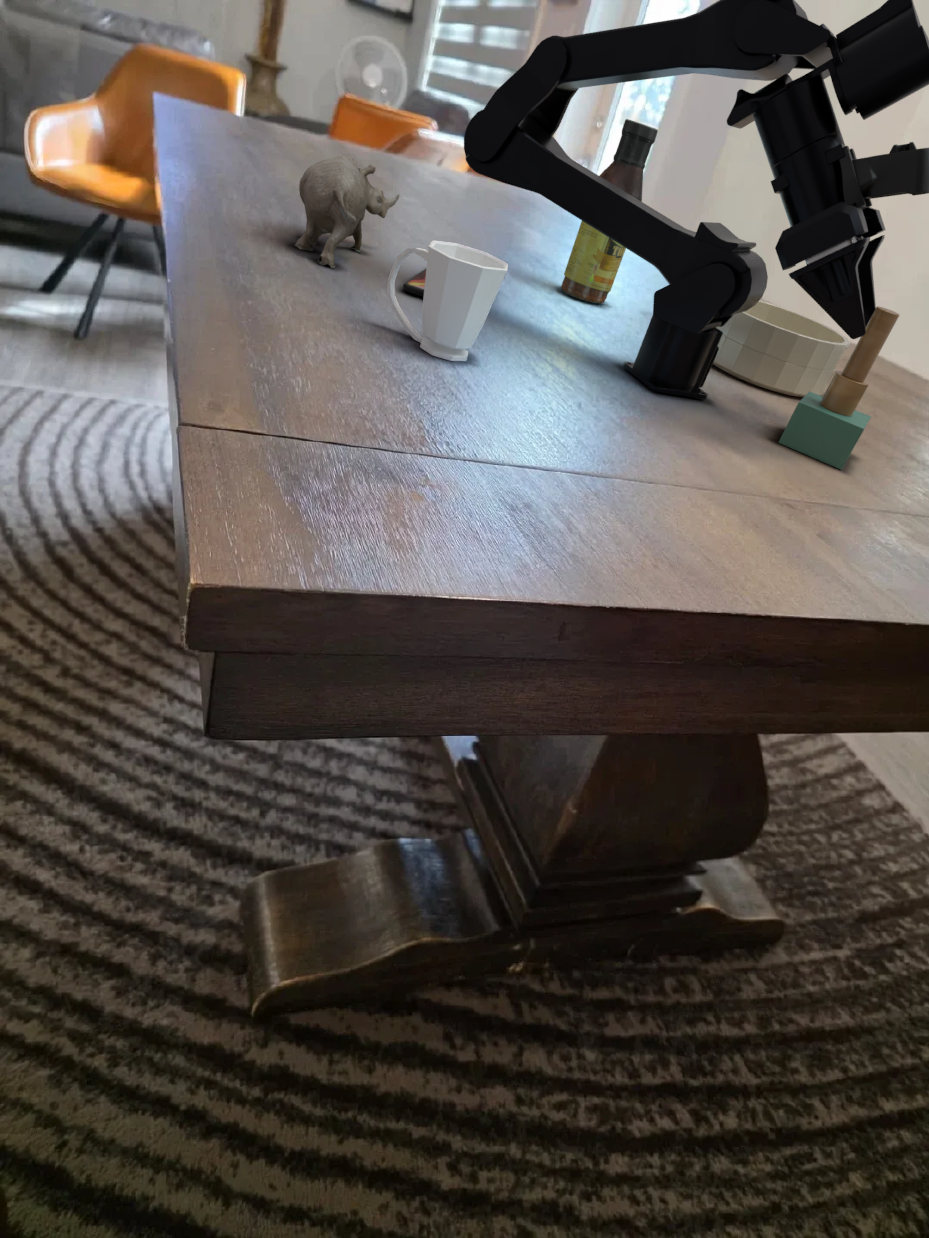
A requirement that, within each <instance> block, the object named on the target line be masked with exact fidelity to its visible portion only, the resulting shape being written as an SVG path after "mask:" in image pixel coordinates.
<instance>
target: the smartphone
mask: <svg viewBox="0 0 929 1238" xmlns="http://www.w3.org/2000/svg"><path fill="white" fill-rule="evenodd" d="M425 279H426V268H424V269H423V270H421V271H420V272H419V273H417V274H415V275H414V276H412V277H411V278H409V279H408V280H406V281H405V282H404V283H403V285H402V288H403V290H404V291H405V292H407V293H410V294H413V295H417V296H420V297H422V298H423V297H424V288H425Z"/></svg>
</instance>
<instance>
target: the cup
mask: <svg viewBox="0 0 929 1238" xmlns="http://www.w3.org/2000/svg"><path fill="white" fill-rule="evenodd" d="M413 253H414V254H416V256H418V257H420V258H422V259H423V260H424V261H425V262H426V268H425V269H426V279H425V288H424V297H422V298H423V299H422V300H423V301H422V311H421V313H422V314H421V315H422V316H421V319H422V320H421V321H422V323H421V325H422V326H421V327H422V328H421V333H422V335H420V333H419V332H418V331H417V330H416V329H415V328H414V327H413V326H412V324H411V322H410V321H409V319H408V318H407V316H406V314H405V312H404V311H403V309H402V308H401V306H400V304H399V301H398V299H397V296H396V286H395V284H396V283H395V282H396V279H397V276H398V273H399V270H400V268H401V267H402V264H403V262H404V260H406V259H407V258H408V257H409V256H411V255H412V254H413ZM508 269H509V263H507V262H506V261H504V260H502V259H500V258H498V257H496V256H494V255H492V254H491V253H488V252H486V251H483V250H480V249H476V248H473V247H470V246H467V245H464V244H461V243H458V242H449V241H443V240H442V241H441V240H435V239H433V240H431V241H430V243H429V245H428V248H427V249H425V248H420V247H411V248H406V249H405V250H404V251H403V252H402V253H400V254H399V255H398V256H397V257H396V259H395V261H394V263H393V264H392V266H391V269H390V271H389V275H388V278H387V281H386V285H387V290H386V291H387V298H388V301H389V303H390V306H391V308H392V310H393V313H394V314H395V316H396V317H397V319H398V320H399V322H400V324H401V325H402V326H403V329H404V330H405V331H406V332H407V334H409V336H411V338H412V339H413V340H414V341H416V342H419V343H420V345H419V348H420V349H422V350H423V351H425V352H426V353H428V354H429V355H431V356H433V357H437V358H439V359H444V360H446V361H450V362H467V360H468V356H469V351H468V350H470V349H471V348H472V347H473V345H474V343H475V341H476V340H477V338H478V336H479V334H480V333H481V331H482V329H483V327H484V325H485V323H486V321H487V318H488V316H489V313H490V311H491V308H492V306H493V304H494V301H495V300H496V298H497V295H498V293H499V291H500V288H501V287H502V284H503V282H504V279H505V277H506V275H507V272H508Z"/></svg>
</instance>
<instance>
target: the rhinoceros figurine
mask: <svg viewBox="0 0 929 1238" xmlns="http://www.w3.org/2000/svg"><path fill="white" fill-rule="evenodd" d="M376 168H377V167H376V165H374V164H368V166H367V167H365V168H360V167H358V165H357V159H356V158H351V157H350V156H348V155H347V154H342V155H336V156H333V157H332V156H331V157H330V158H329V157H328V158H326V159H323V160H320V161H318V162H315V163H313V164H312V165H310V166H309V167H308V168H307V169H306V170H305V171H304V173H303V174H302V176H301V177H300V180H299V185H298V190H299V196H300V200H301V202H302V204H303V205H304V210H305V216H306V224H305V226H306V227H305V231H304V233H303V234H302V235H301V236H300V237H299V238H297V241H296V243H295V244H294V246H295V247H296V248H298V249H299V250H303V251H304V250H305V251H310V252H315V250H314V246H315V245H316V244H317V243H318V241H319V239H320V237H321V236H322V235H326V234H330V235H328V237H327V240H326V242H325V244H324V247H323V250H322V252H321V254H320V256H319V257H318V260H317V263H318V264H319V265H321V266H326V265H328V266H329V267H330V268H333V269H334V268H335V269H336V265H335V251H336V248H337V247H338V246H339V244H340V243H342V242H343V241H344V240H346V239H347V238H349V237H353V240H354V243H353V245H352V246H349V249H354V251H356V252H357V253H361V250H360V249H361V247H362V243H363V242H362V239H363V229H362V221H364V219H365V217H366V211H367V212H368V213H369V214H371V215H375V216H379V217H380V218H382V219H385V218H386V216H387V213H388V211H389V209H391V208H393V207H394V206H395V205H396V203H397V202H398V200H399V198H400V196H401V195H400V193H398V194H396V195H395V196H393V197H391V198H387V197H385V195H384V190H383V189H382V188H380V187H375V186H373V185H372V184H371V183H370V180H369V177H368V176H369V175H373V174H375V172H376V170H377V169H376Z"/></svg>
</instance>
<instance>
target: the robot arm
mask: <svg viewBox="0 0 929 1238" xmlns="http://www.w3.org/2000/svg"><path fill="white" fill-rule="evenodd" d="M793 69H795V70H811V71H808V72H807V73H805V74H803V75H801V76H800V77H797V78H796V79H794V80H793V79H792V77H791V76H790V75H789V74H790V73H791V72H792V70H793ZM692 74H696V75H697V74H698V75H709V76H716V77H722V78H730V79H739V80H752V81H761V82H763V81H764V82H770V83H768V84H767V85H765V86H763V87H761V88H760V89H758V90H757V91H754V92H749V91H747V90H745V89H743V88H740V89H738V90H737V92H736V98H735V102H734V104H733V107H732V109H731V110H730V112H729V115H728V116H727V118H726V124H727V126H729V127H731V128H737V129H739V130H740V129H741V130H742V129H743V128H744V127H747V126H748V125H750V124H752V123H753V122H754V124H755V126H756V127H755V128H756V129H757V132H758V135H759V138H760V141H761V144H762V148H763V149H764V153H765V155H766V159H767V161H768V165H769V167H770V171H771V174H772V176H773V179H772V180H771V181H770V185H771V188H772V190H773V193H774V194H777V195H779V196H780V200H781V202H782V206H783V209H784V212H785V214H786V217H787V220H788V223H789V226H790V227H787V228H786V229H783V230H782V232H781V233H780V236H779V238H778V240H777V243H776V245H775V247H774V249H775V253H776V255H777V258H778V261H779V263H780V266H781V269H782V271H788V270H790V269H792V268H794V267H796V266H797V265H798V264H800V263H802V262H805V264H806V265H804V266H802V267H800V268H798V269H796V270H794V271H792V272H790V273H788V276H789V278H790V280H793V281H794V282H795V283H796V284H797V285H798V286H800V288H801V289H802V290H803V291H804V292H805V293H806V294H807V295H808V296H809V297H811V299H813V301H815V303H816V304H817V305H818V306H819V307H820V308H821V309H822V310H823V311H824V312H825V313H826V314H827V315H828V316H829V317H830V318H831V319H832V320H833V321H834V322H835V323H836V324H837V325H838V327H839V328H840V329H842V331H843V332H844V333H845V334H846V335H847V336H848V337H849V338H850V339H851V340H857V339H860V338H861V336H864V335H865V333H866V326H867V324H868V322H869V320H870V318H871V316H872V315H873V313H874V311H875V309H876V307H877V305H876V294H875V281H874V280H875V279H874V270H873V269H874V267H873V262H874V261H873V260H874V258H875V256H876V254H877V252H878V251H879V249H880V247H881V245H882V244H883V242H884V240H885V238H886V237H885V234H882V235H880V236H878V237H876V238H873V239H871V238H872V237H874V236H876V235H878V234H881V233H883V232H884V231H886V227H885V224H884V221H883V218H882V214H881V211H880V209H877V208H874V207H872V206H873V202H872V200H871V199H879V198H887V197H893V196H901V195H902V196H903V195H911V196H921V195H927V194H929V147H922V148H917V146H916V144H915V143H914V141H909V143H905V144H893V145H892V147H891V149H890V151H889V153H884V154H877V155H872V156H871V155H870V156H867V157H861V158H860V157H859V158H857V154H856V152H855V150H854V148H850V147H849V145H846V144H845V141H844V137H843V135H842V131H841V128H840V126H839V123H838V119H837V116H836V113H835V111H834V106H833V104H832V101H831V98H830V95H829V92H828V89H827V86H826V83H825V80H826V79H827V78H829V77H830V80H831V84H832V86H833V90H834V94H835V95H836V99H837V101H838V103H839V106H840V109H841V111H842V112H843V114H844V116H848V115H849V114H851V113H853V112H854V111H855V113H856V114H857V115H858V114H859V115H860V117H861V118H862V120H863V121H865V120H867V119H869V118H871V117H872V116H875V115H876V114H878V113H880V112H882V111H883V110H886V109H887V108H890V107H891V106H893V105H895V104H897V103H898V102H900V101H902V100H903V99H904V100H905V98H908V97H909V96H911V95H913V94H915V93H916V92H918V91H920V90H922V89H923V88H926V87H927V86H929V37H928V34H927V33H926V30H925V28H924V26H923V25H922V24H921V22H920V17H919V16H918V12H917V10H916V6H915V4H914V0H886V1H885V2H884V3H883V4H882V5H881V6H880V7H878V8H877V9H875V10H874V11H873V12H871V13H869V14H867V15H866V16H865V17H863V18H861V19H859V20H858V21H856V22H855V23H853V24H851V25H850V26H848V27H846V28H845V29H843V30H842V31H840V32H838V33H836V35H835V34H834V33H833V32H832V30H830V29H829V28H828V27H827V26H826V25H825V23H821V24H818V23H815V22H813V21H811V20H809V17H808V15H807V12H806V11H805V10H804V9H803V8H802V6H801V5H800V4H799V3H798V2H797V1H796V0H717V1H716V2H714V3H712V4H710V5H709V6H707V7H705V8H704V9H702V10H701V11H698V12H695V13H693V14H690V15H688V16H686V17H681V18H680V17H679V18H673V19H668V20H662V21H655V22H649V23H643V24H637V25H631V26H624V27H618V28H611V29H606V30H599V31H593V32H587V33H582V34H581V33H580V34H574V35H569V36H560V35H551V36H548V37H546V38H544V39H542V40H541V41H540V42H539V44H537V45H536V46H535V48H534V50H533V51H532V52H531V54H530V55H529V56H528V58H527V60H526V61H525V62H524V64H523V65H522V66H521V67H520V68H518V69H517V70H516V71H515V73H513V74H512V75H511V76H510V77H509V78H508V79H507V80H506V81H505V82H504V83H503V84H501V85H500V86H499V87H498V88H497V89H496V90H495V91H494V93H493V94H492V96H491V97H490V99H489V100H488V102H487V103H486V105H485V106H484V107H483V109H481V110H479V111H477V112H476V113H475V114H474V115H473V116H472V117H471V118H470V120H469V122H468V123H467V126H466V127H465V132H464V136H463V150H464V155H465V162H466V163H467V165H468V167H469V168H470V169H471V170H472V171H474V173H476V174H478V175H481V176H484V177H485V178H489V179H492V180H494V181H497V182H500V183H503V184H507V185H509V186H512V187H515V188H516V187H517V188H519V189H523V190H526V191H530V192H532V193H536V194H538V195H541V196H542V197H543V198H545V199H547V200H548V201H549V202H551V203H553V204H555V205H556V206H558V207H559V208H561V209H563V210H565V211H566V212H567V213H569V214H570V215H572V216H574V217H576V218H577V219H579V220H580V221H583V222H585V223H587V224H588V225H590V226H591V227H593V228H595V229H596V230H598V231H599V232H601V233H603V234H604V235H606V236H607V237H609V238H611V239H612V240H614V241H615V242H617V243H619V244H620V245H622V246H623V247H625V248H626V250H628V251H630V252H631V253H633V254H635V255H636V256H638V257H639V258H640V259H642V260H644V261H646V262H647V263H648V264H650V265H652V266H653V267H655V268H656V270H657V271H659V273H660V275H662V277H663V278H664V279H665V281H666V282H667V284H668V285H665V286H663V287H662V288H660V289H658V290H655V292H654V294H653V303H652V316H651V318H650V321H649V324H648V326H647V329H646V331H645V334H644V336H643V339H642V342H641V344H640V347H639V350H638V352H637V355H636V357H635V360H634V362H630V361H624V362H623V365H622V367H623V368H625V369H626V370H627V371H628V372H629V373H630V374H631V375H633V376H634V377H636V378H637V379H638V380H639V381H640V382H641V383H643V384H644V385H645V386H646V387H648V388H649V389H651V390H652V391H654V392H657V393H662V394H668V395H675V396H682V397H688V398H695V399H699V400H700V399H701V400H707V397H708V393H706V392H705V391H704V390H703V389H701V388H703V386H705V382H706V380H707V378H708V375H709V373H710V371H711V369H712V366H713V365H714V364H713V362H714V360H715V358H716V355H717V353H718V351H719V347H718V344H719V341H720V339H721V337H722V334H723V332H722V331H720V330H719V329H717V328H716V327H722V326H724V325H725V324H726V323H727V322H728V321H729V320H730V318H731V317H732V316H733V315H734V314H737V313H741V312H744V311H747V310H749V309H750V308H752V307H753V306H755V305H756V304H757V303H758V301H759V300H760V301H761V299H762V298H763V296H764V294H765V292H766V290H767V286H768V279H769V275H768V270H767V265H766V262H765V261H764V259H763V258H762V257H761V256H760V255H759V254H758V253H757V252H755V251H754V250H752V249H754V248H756V247H757V243H756V242H754V241H746V240H744V239H741V238H739V237H738V236H736V235H735V234H734V233H733V232H732V231H731V230H730V229H729V228H728V227H726V226H725V225H724V224H723V223H721V222H712V221H711V222H710V221H708V222H707V221H700V223H699V224H698V227H697V229H696V231H693V230H691V229H687V228H686V227H684V226H682V225H680V224H679V223H677V222H676V221H674V220H673V219H670V218H669V217H667V216H665V215H664V214H662V213H661V212H659V211H658V210H657V209H655V208H653V207H651V206H649V205H648V204H646V203H645V202H643V201H642V202H641V201H639V200H638V199H636V198H634V197H633V196H631V195H630V194H628V193H626V192H625V191H623V190H621V189H620V188H618V187H616V186H615V185H613V184H611V183H610V182H608V181H607V180H605V179H603V178H602V177H600V175H598V173H597V174H596V173H595V172H593V171H592V170H591V169H588V168H587V167H586V166H584V165H582V164H581V163H579V162H578V161H575V160H573V159H572V158H571V156H569V155H568V153H567V152H565V150H564V148H562V146H561V145H560V144H559V142H558V141H557V139H556V138H555V137H553V136H554V135H555V134H556V132H557V131H558V129H559V128H560V126H561V124H562V121H563V119H564V117H565V113H566V112H567V110H568V107H569V105H570V103H571V100H572V99H573V97H574V96H575V95H576V93H577V92H578V90H579V89H583V88H590V87H591V88H592V87H597V86H604V85H605V86H606V85H613V84H621V83H628V82H638V81H644V80H651V79H652V80H653V79H661V78H668V77H677V76H683V75H692Z"/></svg>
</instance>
